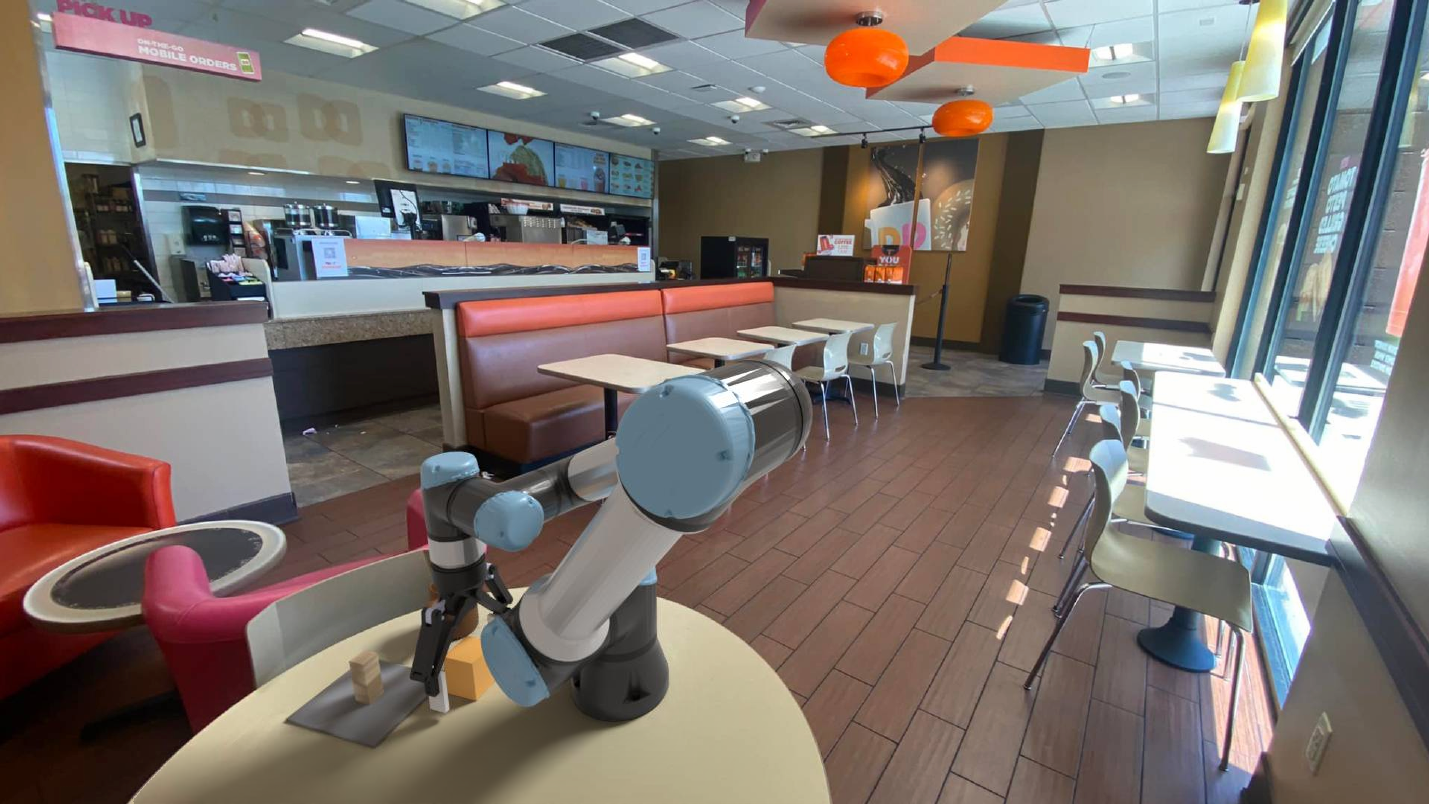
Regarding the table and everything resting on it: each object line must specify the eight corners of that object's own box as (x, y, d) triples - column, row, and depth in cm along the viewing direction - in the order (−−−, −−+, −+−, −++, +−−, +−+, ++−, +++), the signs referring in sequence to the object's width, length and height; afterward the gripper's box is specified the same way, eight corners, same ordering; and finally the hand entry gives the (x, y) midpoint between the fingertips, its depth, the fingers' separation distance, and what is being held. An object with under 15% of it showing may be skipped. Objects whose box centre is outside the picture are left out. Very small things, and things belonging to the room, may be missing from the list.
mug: (450, 660, 98) (444, 611, 95) (408, 656, 99) (401, 607, 96) (487, 617, 109) (482, 572, 107) (449, 613, 110) (443, 568, 108)
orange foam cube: (498, 677, 94) (494, 642, 92) (476, 700, 89) (472, 663, 87) (470, 670, 95) (466, 635, 94) (447, 693, 90) (443, 656, 89)
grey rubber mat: (446, 678, 94) (441, 638, 92) (374, 748, 81) (366, 703, 79) (367, 658, 98) (360, 619, 96) (286, 721, 85) (276, 677, 83)
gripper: (490, 515, 99) (500, 624, 105) (367, 598, 76) (388, 732, 82) (529, 522, 97) (537, 633, 103) (414, 610, 74) (432, 746, 80)
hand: (471, 677), depth 92 cm, fingers open, 13 cm apart
